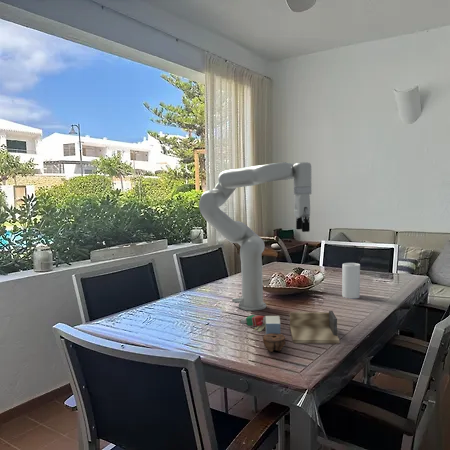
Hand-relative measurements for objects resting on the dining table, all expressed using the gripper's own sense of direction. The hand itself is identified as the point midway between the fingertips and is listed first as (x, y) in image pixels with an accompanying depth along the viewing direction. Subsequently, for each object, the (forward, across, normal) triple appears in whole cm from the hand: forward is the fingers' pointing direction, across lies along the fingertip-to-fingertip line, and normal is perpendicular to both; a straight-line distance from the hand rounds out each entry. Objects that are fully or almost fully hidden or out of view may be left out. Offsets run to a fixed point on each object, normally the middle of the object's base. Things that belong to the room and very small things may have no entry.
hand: (302, 230), depth 186 cm
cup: (+36, -17, +29) cm, 49 cm away
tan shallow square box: (+35, +32, -5) cm, 48 cm away
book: (+35, +35, -20) cm, 53 cm away
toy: (+36, +17, -23) cm, 46 cm away
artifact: (+36, +44, -22) cm, 61 cm away
